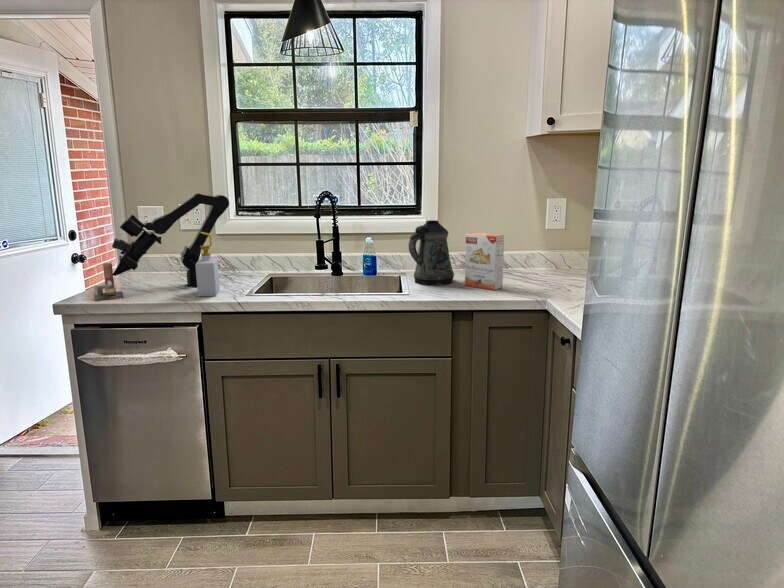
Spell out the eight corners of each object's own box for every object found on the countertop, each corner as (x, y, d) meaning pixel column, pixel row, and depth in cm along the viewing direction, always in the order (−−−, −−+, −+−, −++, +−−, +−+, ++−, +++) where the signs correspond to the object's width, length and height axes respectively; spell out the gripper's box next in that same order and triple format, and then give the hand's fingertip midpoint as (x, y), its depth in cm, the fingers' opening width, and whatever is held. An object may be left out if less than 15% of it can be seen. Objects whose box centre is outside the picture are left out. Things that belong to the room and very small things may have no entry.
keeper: (112, 292, 216) (111, 277, 215) (113, 295, 211) (111, 280, 209) (94, 293, 214) (93, 279, 212) (95, 297, 208) (93, 282, 207)
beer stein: (459, 279, 238) (460, 219, 233) (441, 288, 222) (442, 224, 216) (423, 276, 246) (423, 218, 240) (403, 285, 229) (403, 222, 223)
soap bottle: (202, 290, 223) (197, 230, 217) (220, 289, 224) (215, 229, 219) (197, 297, 211) (192, 234, 206) (216, 296, 212) (211, 233, 207)
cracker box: (464, 286, 226) (465, 233, 222) (473, 283, 231) (474, 231, 226) (494, 290, 217) (496, 235, 212) (502, 288, 221) (504, 234, 217)
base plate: (122, 293, 218) (122, 291, 218) (123, 298, 210) (123, 295, 210) (94, 296, 214) (94, 293, 214) (94, 301, 206) (94, 298, 206)
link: (116, 294, 210) (113, 267, 208) (105, 295, 208) (102, 268, 206) (115, 288, 221) (112, 262, 218) (105, 289, 219) (101, 263, 217)
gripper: (123, 228, 225) (96, 257, 223) (124, 234, 208) (94, 266, 207) (147, 246, 230) (120, 275, 228) (149, 253, 214) (120, 285, 212)
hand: (113, 275), depth 219 cm, fingers closed, pressing on link
